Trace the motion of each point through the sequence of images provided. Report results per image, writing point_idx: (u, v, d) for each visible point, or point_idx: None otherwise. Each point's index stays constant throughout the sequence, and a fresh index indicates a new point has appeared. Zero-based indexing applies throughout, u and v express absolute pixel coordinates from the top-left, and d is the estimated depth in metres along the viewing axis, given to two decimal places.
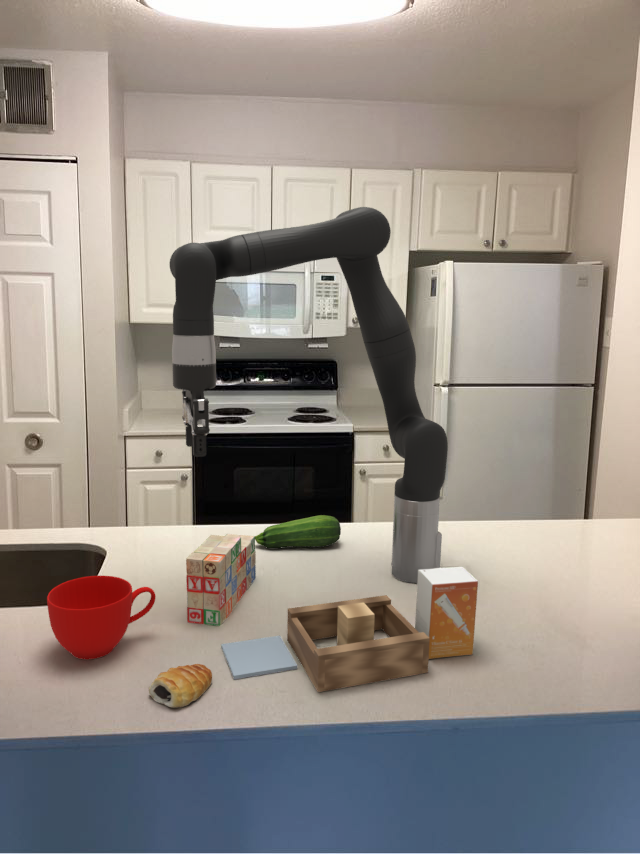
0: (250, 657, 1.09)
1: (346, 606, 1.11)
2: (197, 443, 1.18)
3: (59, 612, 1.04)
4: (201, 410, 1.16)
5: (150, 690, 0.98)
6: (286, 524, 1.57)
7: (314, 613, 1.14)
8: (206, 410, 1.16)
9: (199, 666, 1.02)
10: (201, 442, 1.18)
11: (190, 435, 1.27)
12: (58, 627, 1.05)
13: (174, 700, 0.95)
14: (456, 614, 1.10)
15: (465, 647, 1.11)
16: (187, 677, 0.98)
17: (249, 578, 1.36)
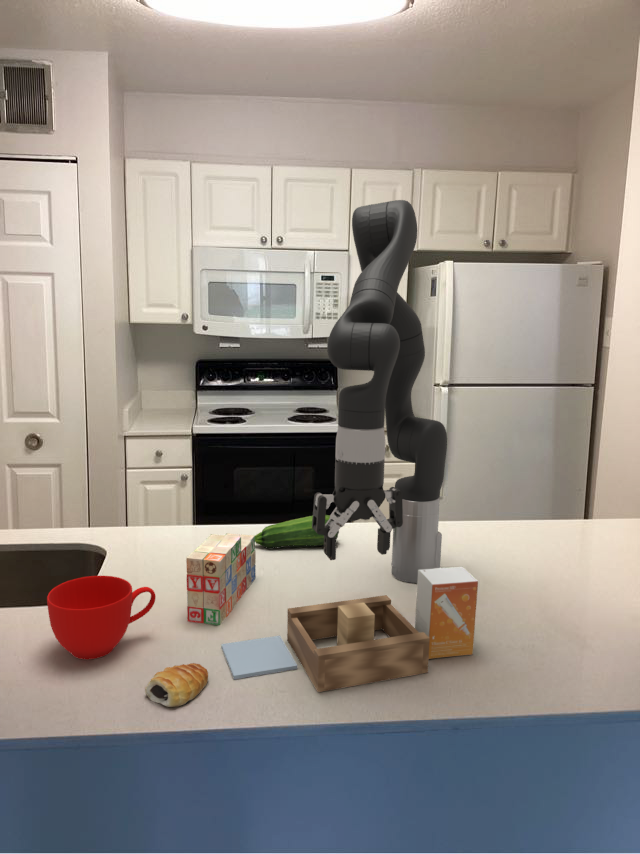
0: (250, 657, 1.09)
1: (346, 606, 1.11)
2: (389, 538, 1.08)
3: (59, 612, 1.04)
4: None
5: (146, 690, 0.98)
6: (284, 524, 1.57)
7: (314, 613, 1.14)
8: None
9: (195, 665, 1.03)
10: None
11: None
12: (58, 627, 1.05)
13: (171, 699, 0.95)
14: (456, 614, 1.10)
15: (465, 647, 1.11)
16: (184, 676, 0.98)
17: (249, 577, 1.36)
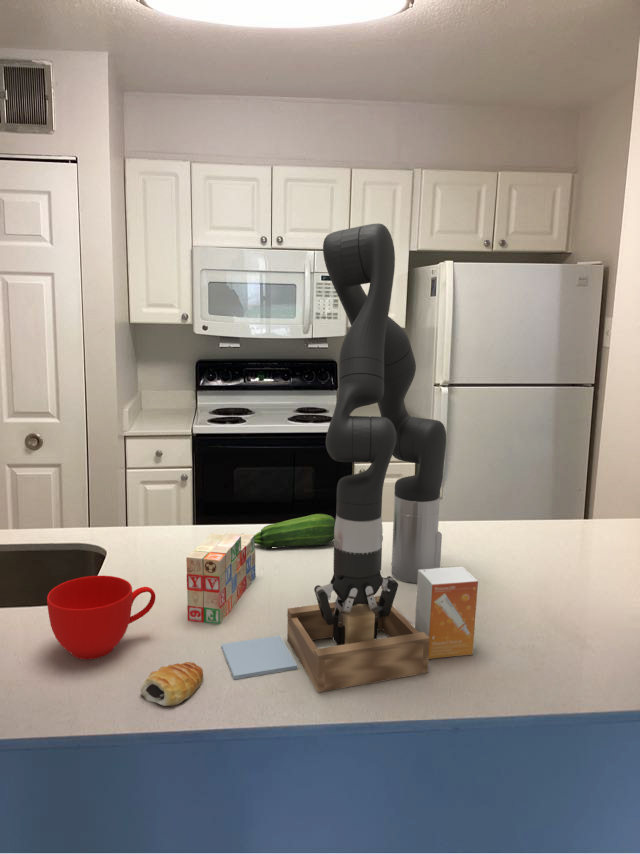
0: (250, 657, 1.09)
1: None
2: None
3: (59, 612, 1.04)
4: None
5: (142, 689, 0.98)
6: (283, 523, 1.57)
7: (314, 613, 1.14)
8: None
9: (190, 664, 1.03)
10: None
11: None
12: (58, 627, 1.05)
13: (167, 698, 0.96)
14: (456, 614, 1.10)
15: (465, 647, 1.11)
16: (179, 675, 0.99)
17: (249, 577, 1.36)
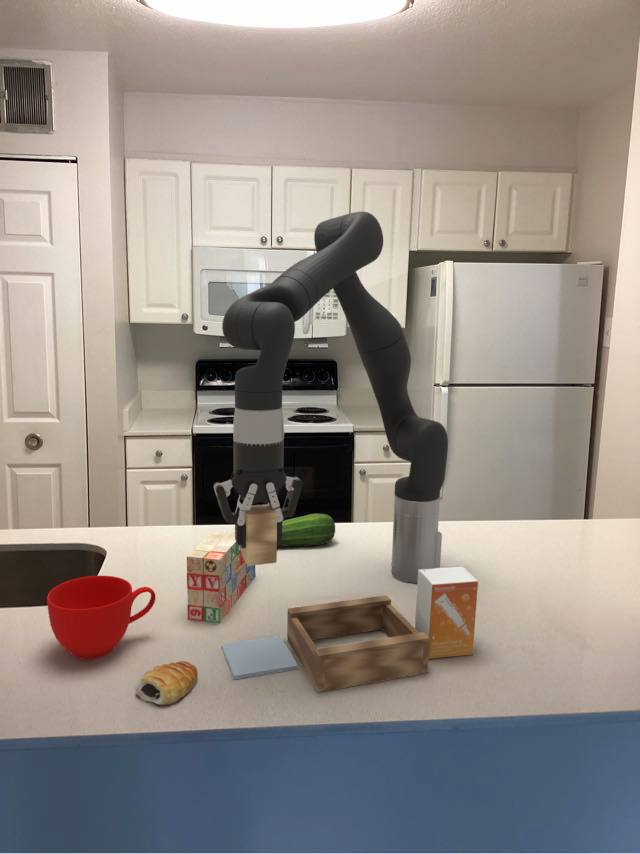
0: (250, 657, 1.09)
1: None
2: (281, 528, 1.06)
3: (59, 612, 1.04)
4: None
5: (137, 689, 0.98)
6: None
7: (314, 613, 1.14)
8: None
9: (184, 662, 1.03)
10: None
11: None
12: (58, 627, 1.05)
13: (163, 697, 0.96)
14: (456, 614, 1.10)
15: (465, 647, 1.11)
16: (174, 674, 0.99)
17: (249, 576, 1.37)
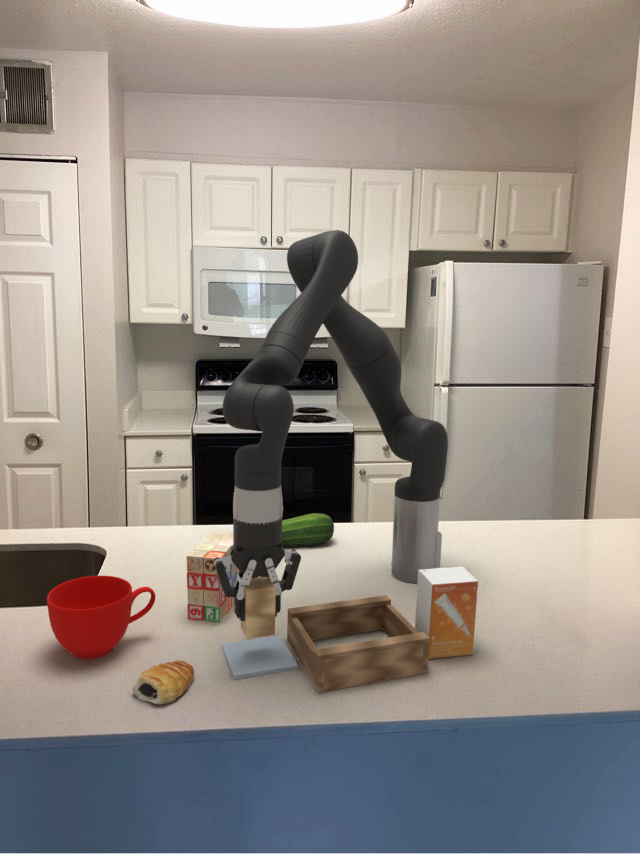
0: (250, 657, 1.09)
1: None
2: None
3: (59, 612, 1.04)
4: None
5: (134, 689, 0.98)
6: None
7: (314, 613, 1.14)
8: None
9: (181, 662, 1.03)
10: None
11: None
12: (58, 627, 1.05)
13: (161, 697, 0.96)
14: (456, 614, 1.10)
15: (465, 647, 1.11)
16: (171, 673, 0.99)
17: None
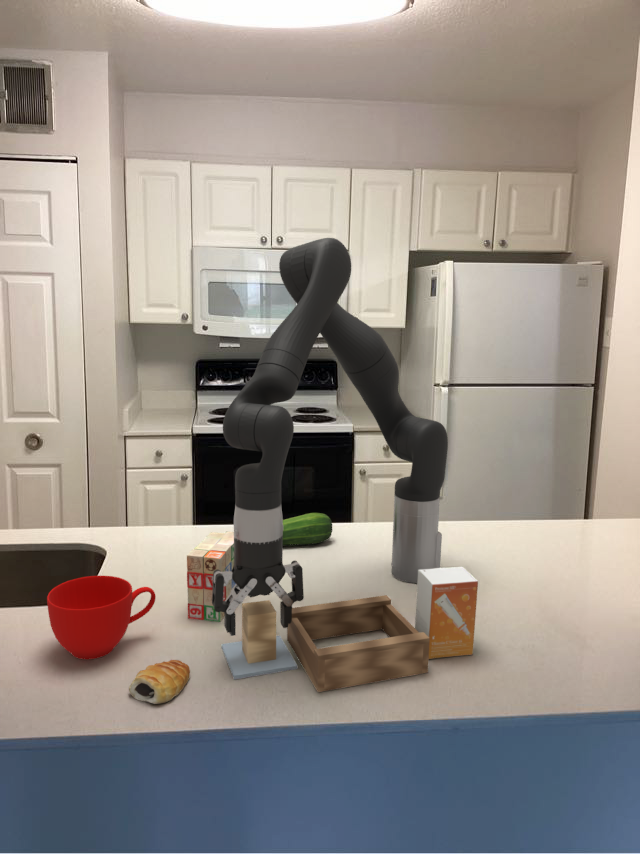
0: None
1: (250, 604, 1.09)
2: (291, 611, 1.09)
3: (59, 612, 1.04)
4: None
5: (131, 689, 0.98)
6: None
7: (314, 613, 1.14)
8: None
9: (177, 661, 1.04)
10: None
11: None
12: (58, 627, 1.05)
13: (158, 696, 0.96)
14: (456, 614, 1.10)
15: (465, 647, 1.11)
16: (168, 673, 0.99)
17: None
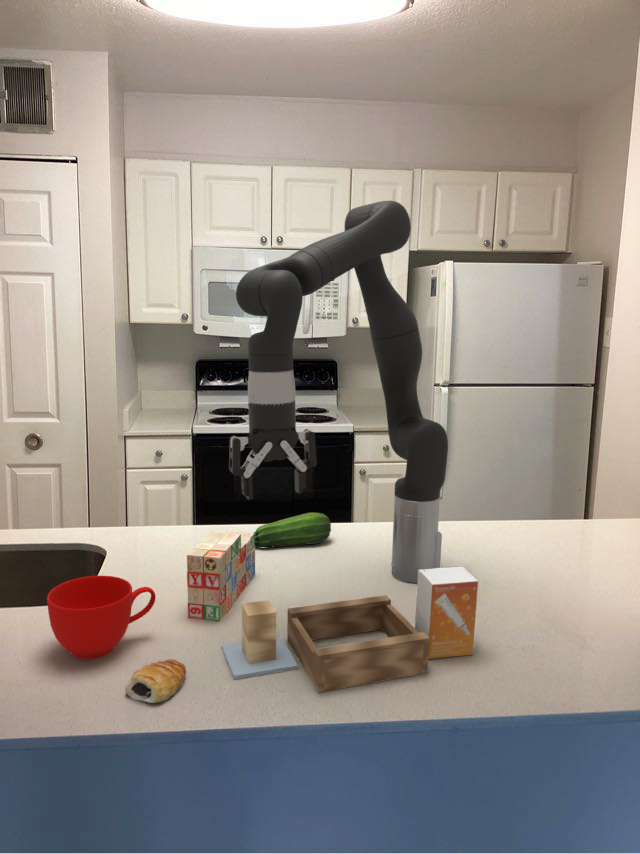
0: None
1: (250, 604, 1.09)
2: (305, 477, 1.14)
3: (59, 612, 1.04)
4: None
5: (127, 689, 0.98)
6: (278, 523, 1.58)
7: (314, 613, 1.14)
8: None
9: (172, 661, 1.04)
10: None
11: None
12: (58, 627, 1.05)
13: (155, 695, 0.96)
14: (456, 614, 1.10)
15: (465, 647, 1.11)
16: (165, 672, 0.99)
17: (249, 574, 1.38)
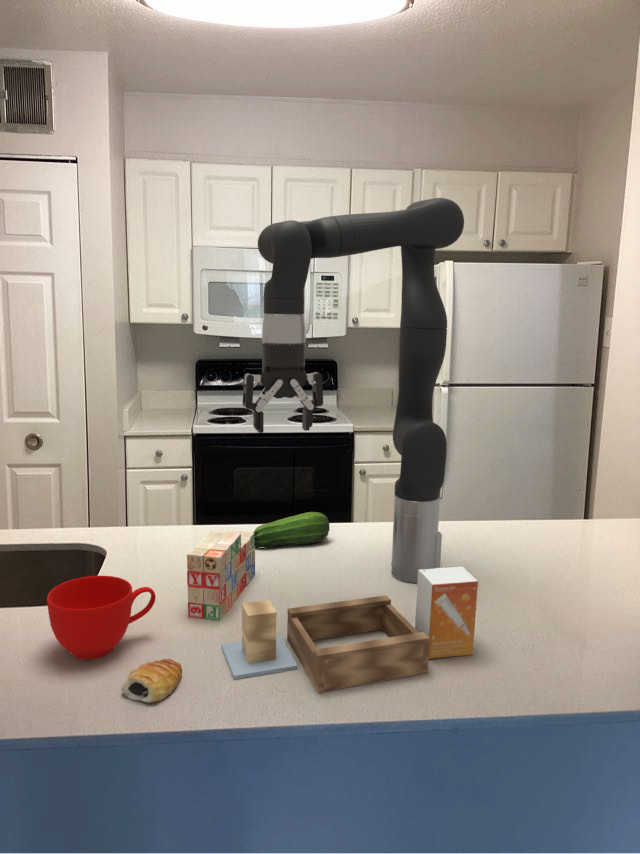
0: None
1: (250, 604, 1.09)
2: None
3: (59, 612, 1.04)
4: None
5: (124, 689, 0.98)
6: (277, 522, 1.58)
7: (314, 613, 1.14)
8: None
9: (168, 660, 1.04)
10: None
11: None
12: (58, 627, 1.05)
13: (152, 695, 0.96)
14: (456, 614, 1.10)
15: (465, 647, 1.11)
16: (161, 671, 1.00)
17: (249, 574, 1.38)
